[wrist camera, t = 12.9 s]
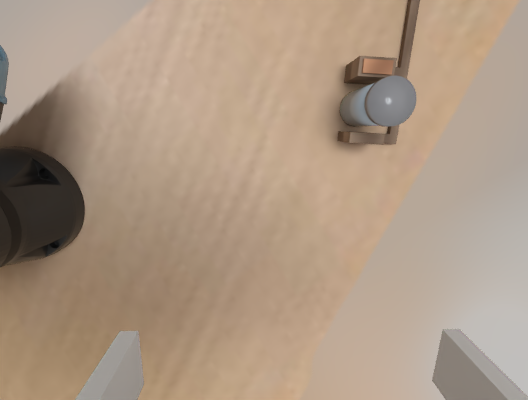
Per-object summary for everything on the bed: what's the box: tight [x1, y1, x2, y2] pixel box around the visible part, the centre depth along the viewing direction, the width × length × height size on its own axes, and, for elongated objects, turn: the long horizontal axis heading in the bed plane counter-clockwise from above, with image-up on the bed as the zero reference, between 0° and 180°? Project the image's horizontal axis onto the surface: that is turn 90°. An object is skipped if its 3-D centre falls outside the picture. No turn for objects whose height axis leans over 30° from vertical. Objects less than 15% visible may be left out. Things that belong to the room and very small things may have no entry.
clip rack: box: [338, 0, 420, 145], centre depth 32 cm, size 8×28×5 cm, turn 177°
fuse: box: [340, 76, 416, 126], centre depth 32 cm, size 5×5×10 cm
